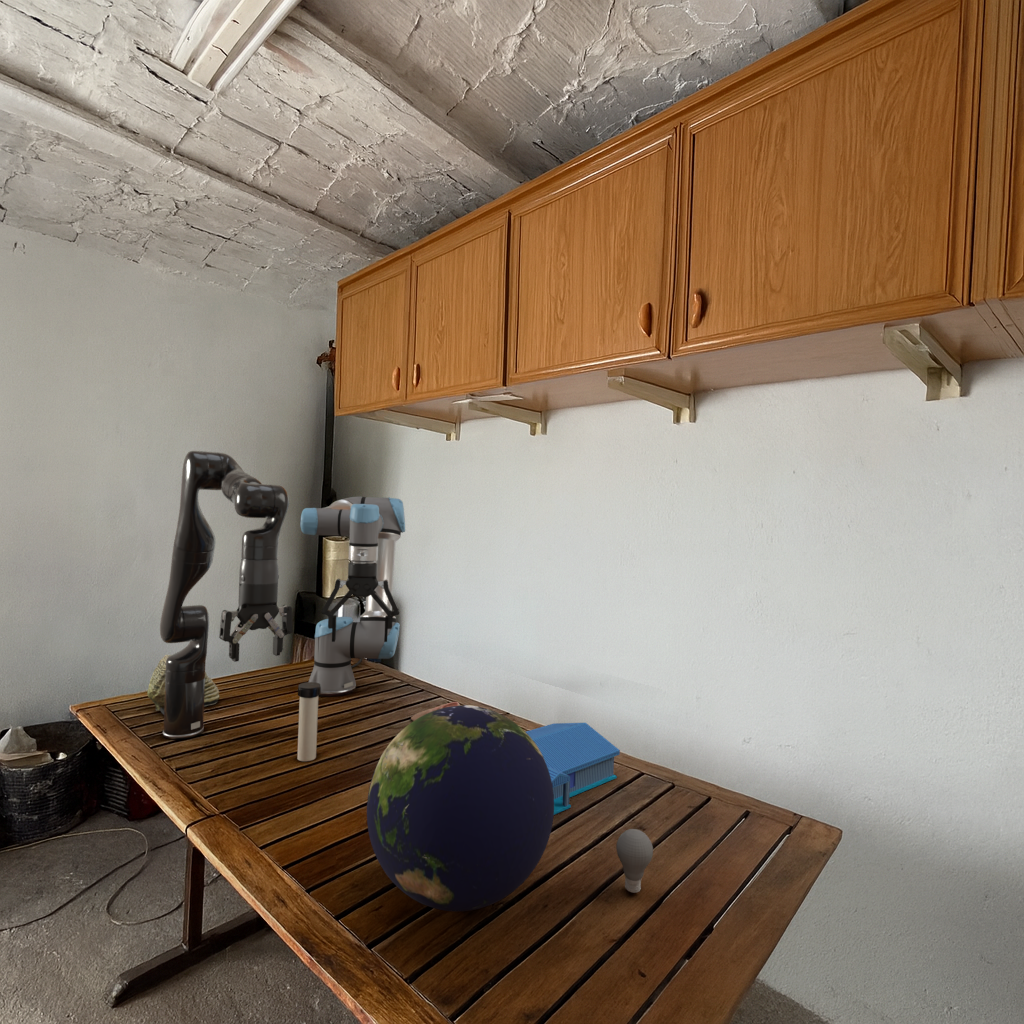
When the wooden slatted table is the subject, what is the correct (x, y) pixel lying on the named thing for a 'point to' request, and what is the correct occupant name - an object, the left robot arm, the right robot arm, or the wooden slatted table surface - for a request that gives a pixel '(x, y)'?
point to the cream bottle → (307, 728)
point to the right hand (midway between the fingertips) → (359, 640)
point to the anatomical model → (434, 710)
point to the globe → (460, 808)
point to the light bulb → (634, 857)
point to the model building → (574, 759)
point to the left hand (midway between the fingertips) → (256, 657)
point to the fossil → (158, 687)
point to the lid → (309, 689)
